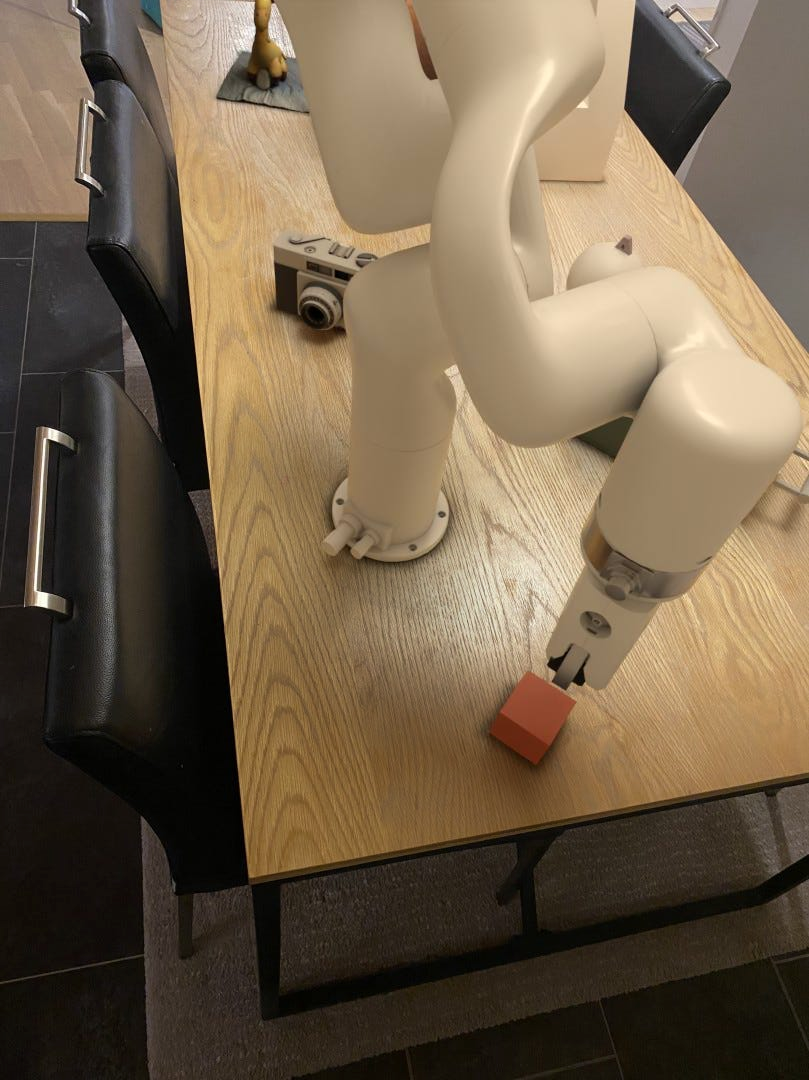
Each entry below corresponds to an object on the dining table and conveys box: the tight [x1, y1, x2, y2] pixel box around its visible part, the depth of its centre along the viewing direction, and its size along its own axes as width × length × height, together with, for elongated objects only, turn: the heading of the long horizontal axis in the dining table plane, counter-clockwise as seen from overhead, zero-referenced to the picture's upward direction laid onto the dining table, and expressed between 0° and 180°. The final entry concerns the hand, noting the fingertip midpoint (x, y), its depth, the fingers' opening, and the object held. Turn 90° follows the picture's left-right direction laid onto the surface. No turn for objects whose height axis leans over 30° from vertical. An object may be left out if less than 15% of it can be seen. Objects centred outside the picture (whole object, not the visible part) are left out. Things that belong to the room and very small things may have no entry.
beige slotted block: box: [533, 0, 637, 182], centre depth 120 cm, size 19×15×25 cm
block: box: [489, 669, 577, 766], centre depth 68 cm, size 5×5×5 cm
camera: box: [272, 227, 384, 331], centre depth 95 cm, size 14×8×10 cm, turn 70°
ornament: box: [565, 234, 646, 291], centre depth 100 cm, size 10×10×12 cm
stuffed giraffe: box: [215, 0, 309, 113], centre depth 129 cm, size 16×18×16 cm
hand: (568, 669), depth 61 cm, fingers closed
